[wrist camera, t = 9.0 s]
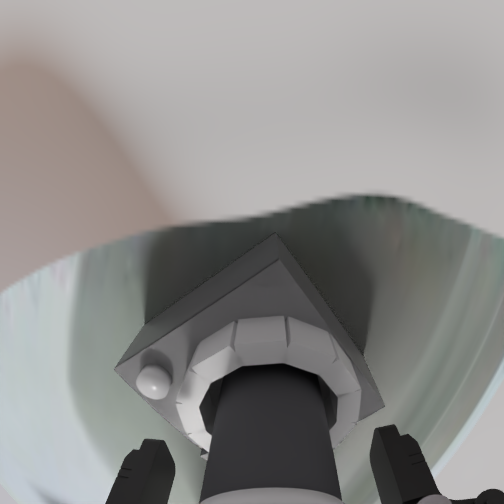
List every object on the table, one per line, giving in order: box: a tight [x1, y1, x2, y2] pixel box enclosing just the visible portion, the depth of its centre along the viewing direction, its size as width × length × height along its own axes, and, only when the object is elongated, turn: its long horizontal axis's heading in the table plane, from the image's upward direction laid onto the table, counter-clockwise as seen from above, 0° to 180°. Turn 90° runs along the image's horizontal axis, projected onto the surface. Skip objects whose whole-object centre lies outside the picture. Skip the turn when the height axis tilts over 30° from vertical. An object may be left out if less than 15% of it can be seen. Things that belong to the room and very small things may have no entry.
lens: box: [199, 363, 344, 504], centre depth 10 cm, size 5×5×8 cm
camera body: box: [114, 233, 385, 461], centre depth 16 cm, size 10×10×7 cm
